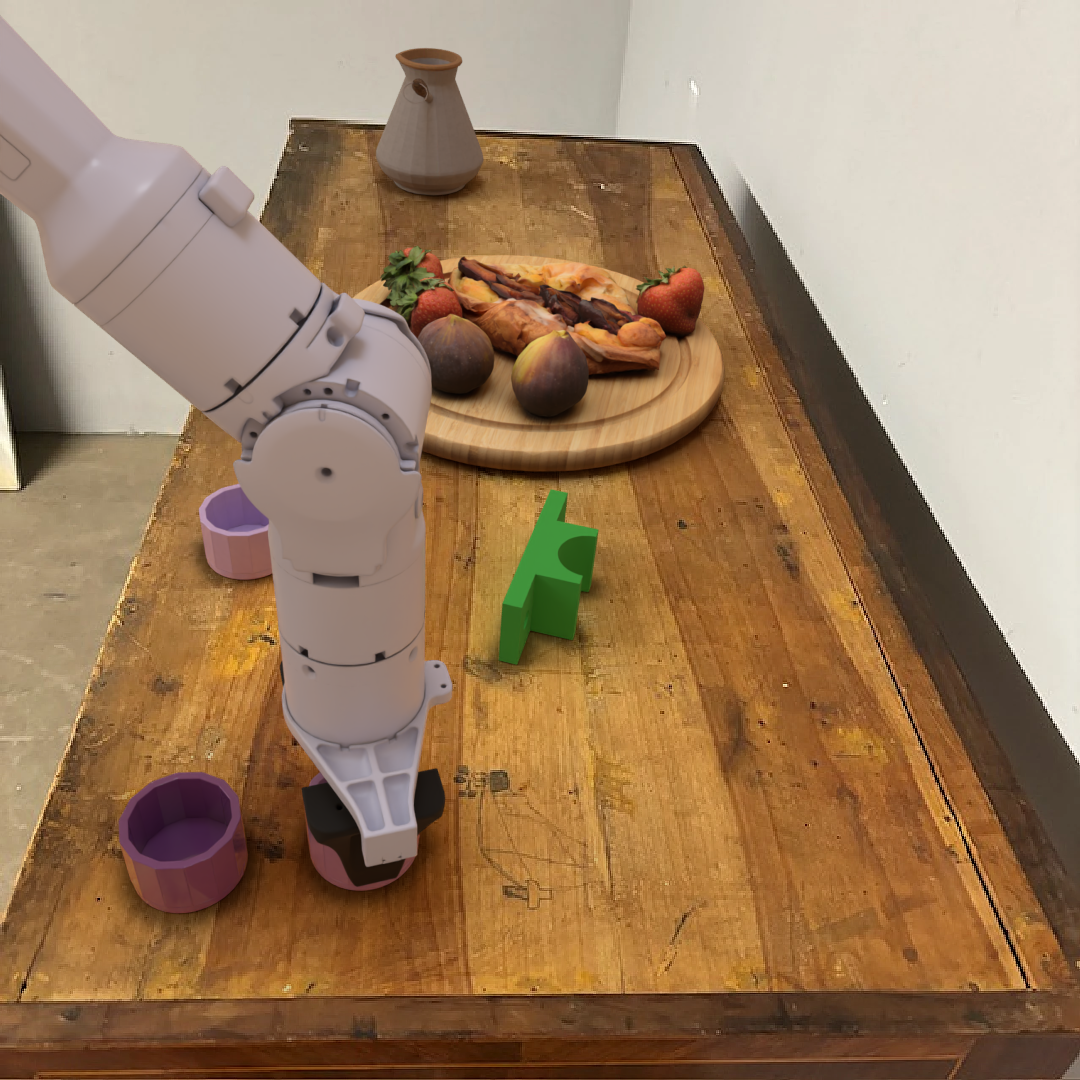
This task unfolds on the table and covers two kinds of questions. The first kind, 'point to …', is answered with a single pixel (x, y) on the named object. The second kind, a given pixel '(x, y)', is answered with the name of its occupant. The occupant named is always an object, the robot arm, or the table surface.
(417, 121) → the coffee pot
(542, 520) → the pipe clamp
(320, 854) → the mauve dish
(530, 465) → the wooden plate
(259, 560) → the lavender dish
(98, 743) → the table surface
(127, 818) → the plum dish
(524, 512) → the table surface
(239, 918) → the table surface
